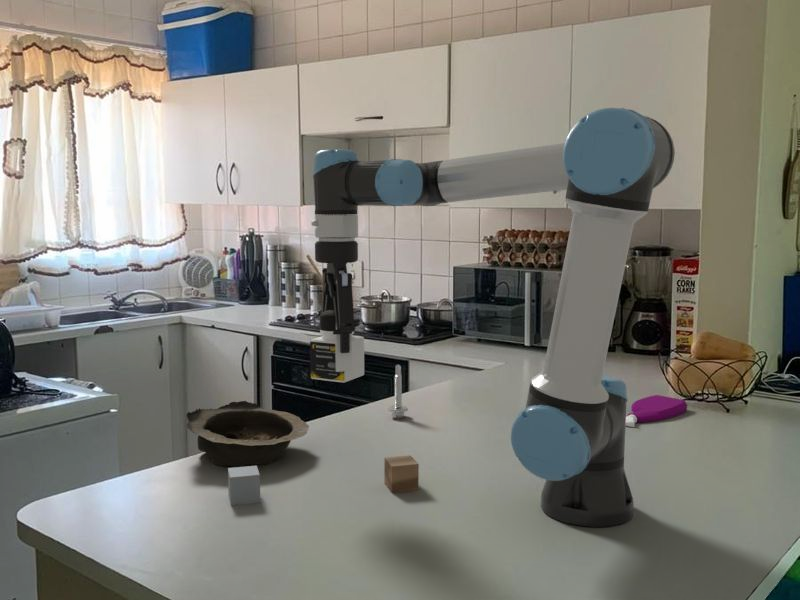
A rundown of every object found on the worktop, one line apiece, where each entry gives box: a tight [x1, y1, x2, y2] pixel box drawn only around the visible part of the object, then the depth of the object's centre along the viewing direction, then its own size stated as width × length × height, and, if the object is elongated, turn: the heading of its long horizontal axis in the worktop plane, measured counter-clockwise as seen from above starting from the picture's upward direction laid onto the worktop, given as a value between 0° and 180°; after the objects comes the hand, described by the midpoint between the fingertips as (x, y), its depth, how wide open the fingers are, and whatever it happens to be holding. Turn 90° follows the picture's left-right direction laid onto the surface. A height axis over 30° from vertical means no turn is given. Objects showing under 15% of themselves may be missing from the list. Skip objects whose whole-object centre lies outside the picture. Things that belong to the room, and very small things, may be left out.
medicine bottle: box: [309, 310, 365, 383], centre depth 140 cm, size 7×7×12 cm
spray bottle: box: [625, 394, 688, 428], centre depth 191 cm, size 3×11×24 cm
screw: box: [387, 364, 409, 419], centre depth 189 cm, size 13×5×5 cm
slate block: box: [227, 465, 261, 506], centre depth 137 cm, size 5×5×5 cm
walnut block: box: [383, 455, 420, 494], centre depth 143 cm, size 5×5×5 cm
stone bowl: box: [186, 400, 310, 468], centre depth 160 cm, size 25×25×9 cm
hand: (337, 365), depth 140 cm, fingers closed on medicine bottle, 10 cm apart
